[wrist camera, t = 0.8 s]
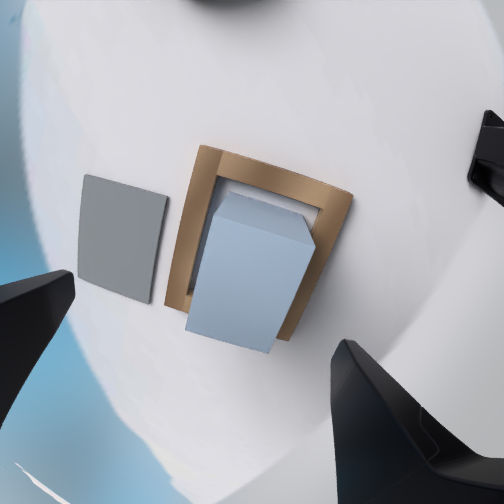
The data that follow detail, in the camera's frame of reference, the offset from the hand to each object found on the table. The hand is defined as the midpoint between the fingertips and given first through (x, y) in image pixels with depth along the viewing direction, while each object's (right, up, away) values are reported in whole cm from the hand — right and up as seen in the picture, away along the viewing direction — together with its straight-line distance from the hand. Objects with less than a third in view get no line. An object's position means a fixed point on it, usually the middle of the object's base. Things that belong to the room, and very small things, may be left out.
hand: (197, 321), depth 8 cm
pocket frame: (+1, +2, +12) cm, 12 cm away
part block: (+2, +2, +12) cm, 12 cm away
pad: (-9, +3, +12) cm, 15 cm away
